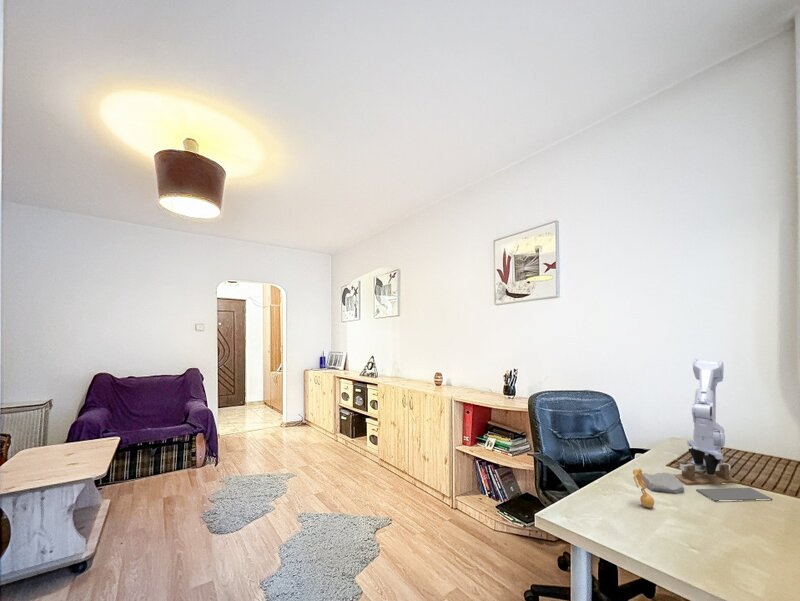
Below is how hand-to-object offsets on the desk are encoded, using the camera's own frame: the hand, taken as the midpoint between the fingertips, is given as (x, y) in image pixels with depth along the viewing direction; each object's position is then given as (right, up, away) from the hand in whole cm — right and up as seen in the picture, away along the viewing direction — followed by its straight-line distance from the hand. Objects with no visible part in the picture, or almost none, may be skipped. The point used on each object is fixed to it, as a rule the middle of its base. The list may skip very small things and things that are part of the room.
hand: (705, 471), depth 148 cm
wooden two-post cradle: (0, -3, 0) cm, 3 cm away
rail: (0, +1, 0) cm, 1 cm away
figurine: (-35, -4, -18) cm, 39 cm away
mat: (0, -3, -12) cm, 12 cm away
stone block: (-20, -4, -5) cm, 21 cm away
